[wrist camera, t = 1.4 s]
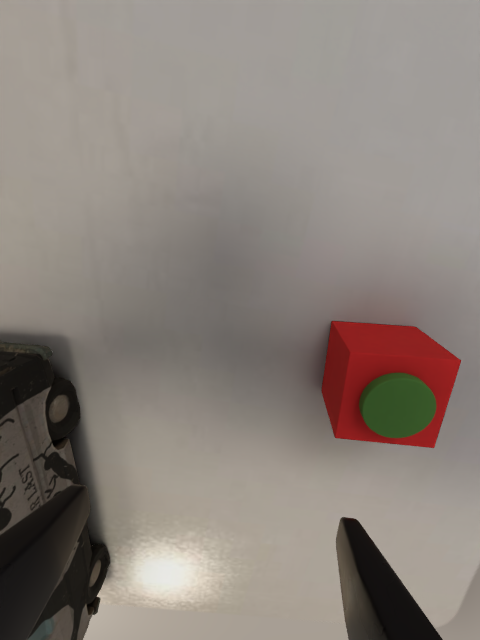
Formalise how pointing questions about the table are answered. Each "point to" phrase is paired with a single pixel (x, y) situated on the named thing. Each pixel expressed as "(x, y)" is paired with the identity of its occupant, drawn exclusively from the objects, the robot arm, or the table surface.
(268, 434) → the table surface
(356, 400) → the red cube
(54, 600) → the toy car
